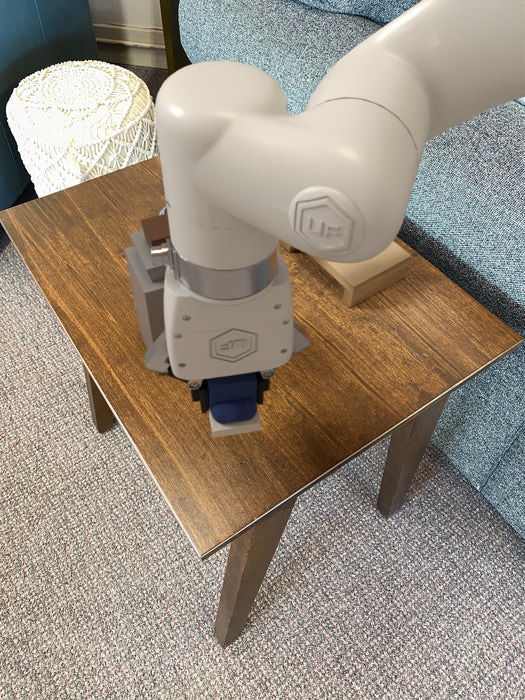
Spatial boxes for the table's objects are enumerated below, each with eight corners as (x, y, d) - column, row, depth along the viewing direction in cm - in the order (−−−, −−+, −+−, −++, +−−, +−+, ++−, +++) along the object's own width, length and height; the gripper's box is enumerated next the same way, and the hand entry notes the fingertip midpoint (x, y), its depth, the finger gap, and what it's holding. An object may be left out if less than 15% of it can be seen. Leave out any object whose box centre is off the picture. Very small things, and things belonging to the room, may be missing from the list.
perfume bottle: (140, 333, 68) (117, 213, 54) (193, 317, 70) (183, 197, 56) (158, 375, 65) (138, 258, 51) (213, 357, 67) (209, 239, 52)
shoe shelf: (404, 277, 76) (412, 255, 73) (349, 308, 72) (354, 286, 69) (336, 221, 83) (340, 199, 80) (282, 246, 79) (285, 224, 76)
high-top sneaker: (201, 369, 57) (198, 333, 53) (245, 363, 58) (245, 327, 53) (212, 438, 52) (210, 404, 48) (260, 430, 53) (262, 396, 48)
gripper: (106, 306, 37) (144, 444, 51) (355, 276, 39) (325, 416, 53) (103, 231, 41) (138, 377, 56) (326, 208, 44) (305, 354, 58)
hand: (230, 395), depth 54 cm, fingers closed on high-top sneaker, 4 cm apart
